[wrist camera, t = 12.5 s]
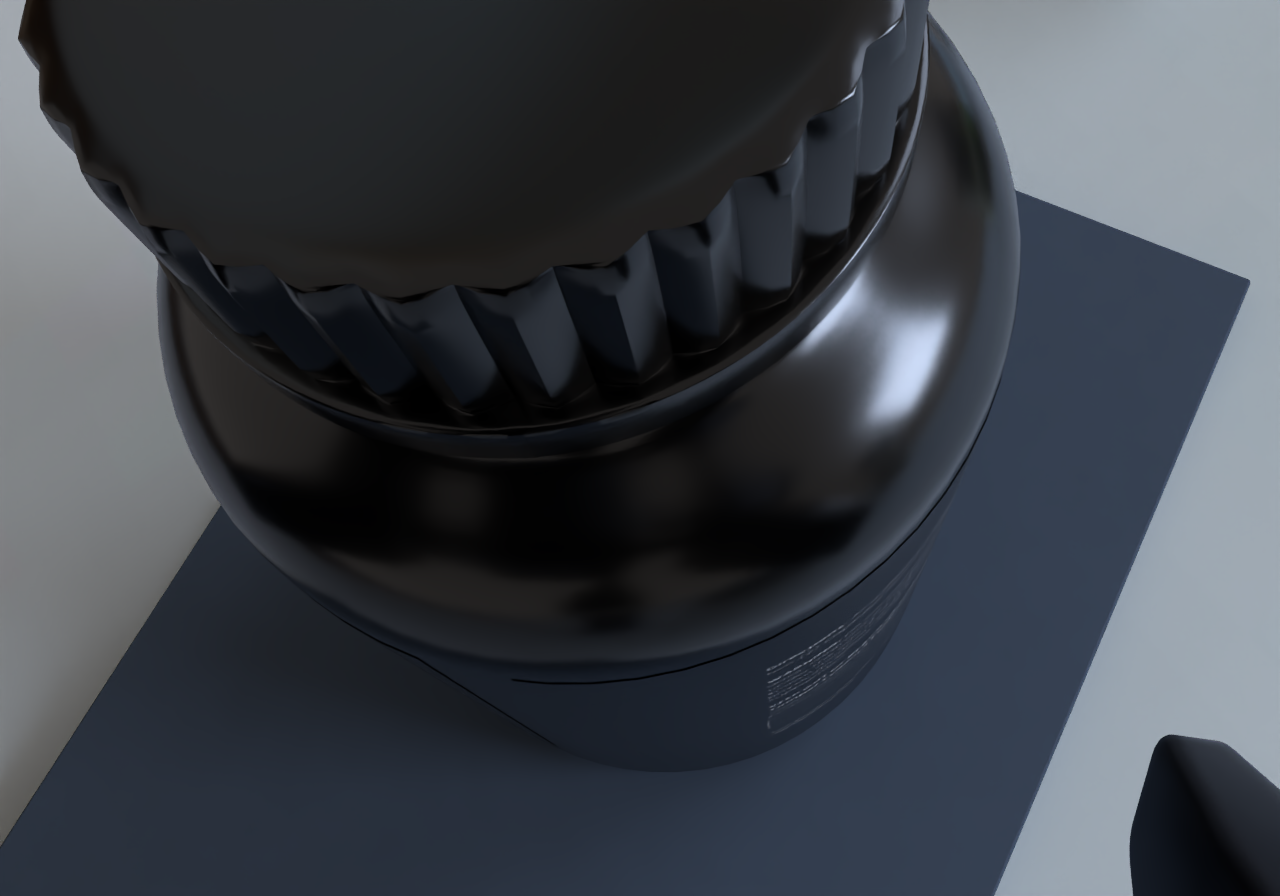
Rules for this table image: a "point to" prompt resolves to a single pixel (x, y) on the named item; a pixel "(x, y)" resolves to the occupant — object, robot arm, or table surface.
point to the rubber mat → (666, 801)
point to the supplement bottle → (568, 327)
